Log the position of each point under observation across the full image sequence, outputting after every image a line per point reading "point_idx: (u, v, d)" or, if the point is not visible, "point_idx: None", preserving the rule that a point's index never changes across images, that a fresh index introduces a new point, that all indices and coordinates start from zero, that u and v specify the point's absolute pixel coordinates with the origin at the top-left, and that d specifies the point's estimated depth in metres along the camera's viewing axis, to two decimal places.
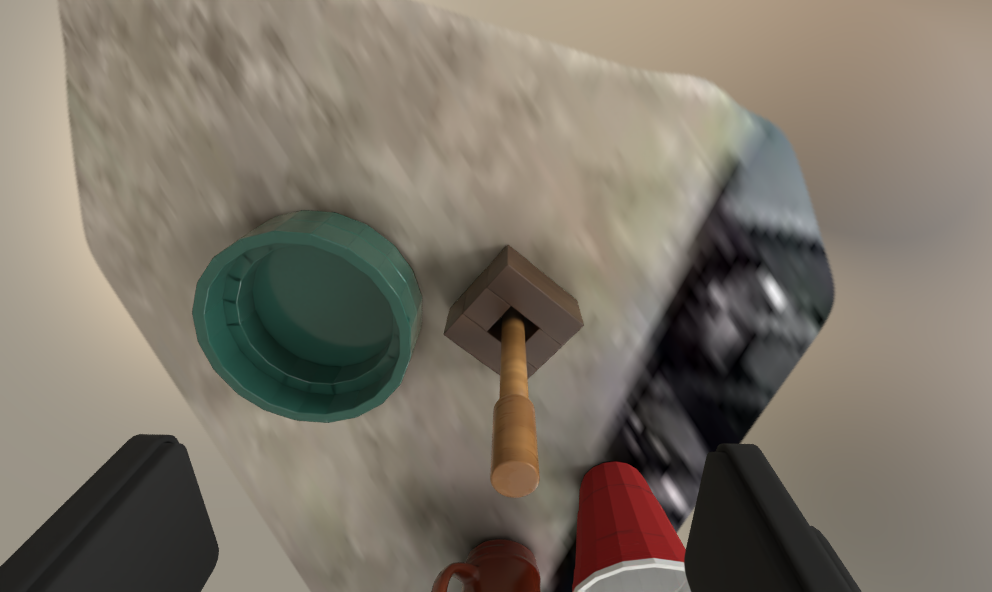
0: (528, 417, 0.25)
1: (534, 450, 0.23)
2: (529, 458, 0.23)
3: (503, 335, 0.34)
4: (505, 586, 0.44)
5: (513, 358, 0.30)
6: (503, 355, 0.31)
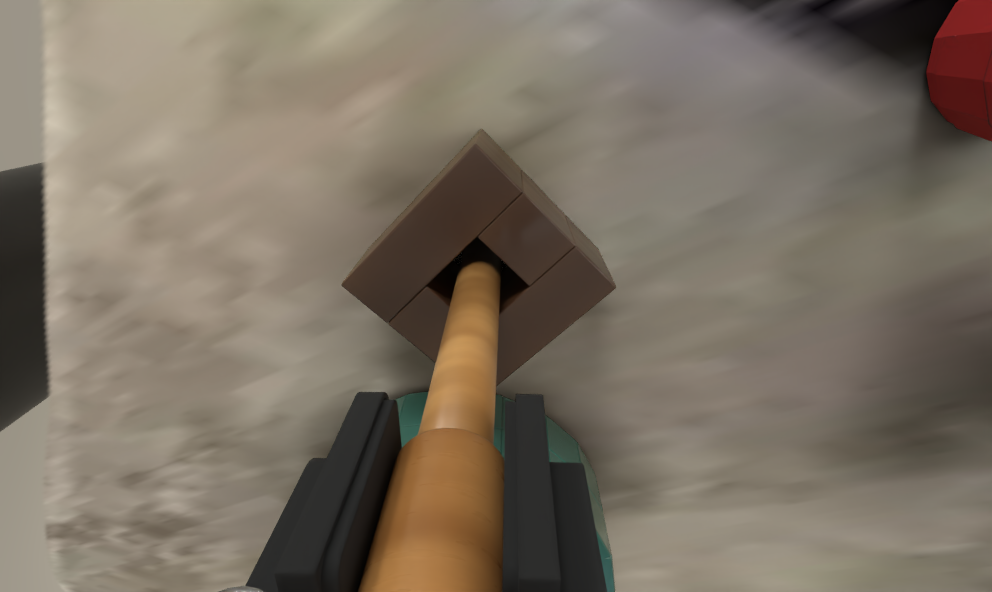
0: (392, 506, 0.08)
1: None
2: None
3: None
4: None
5: None
6: None
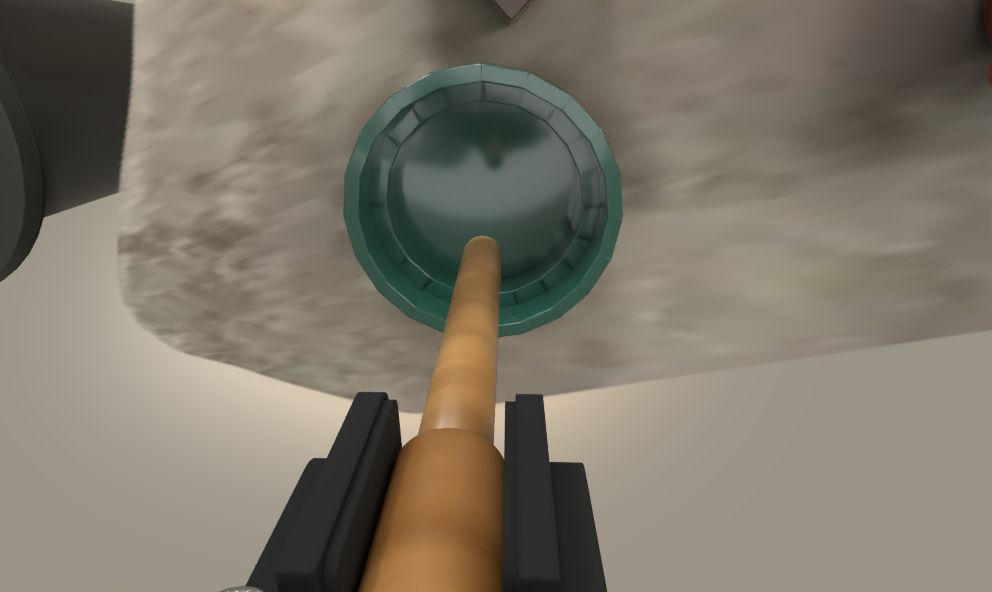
0: (392, 507, 0.08)
1: None
2: None
3: None
4: None
5: None
6: None
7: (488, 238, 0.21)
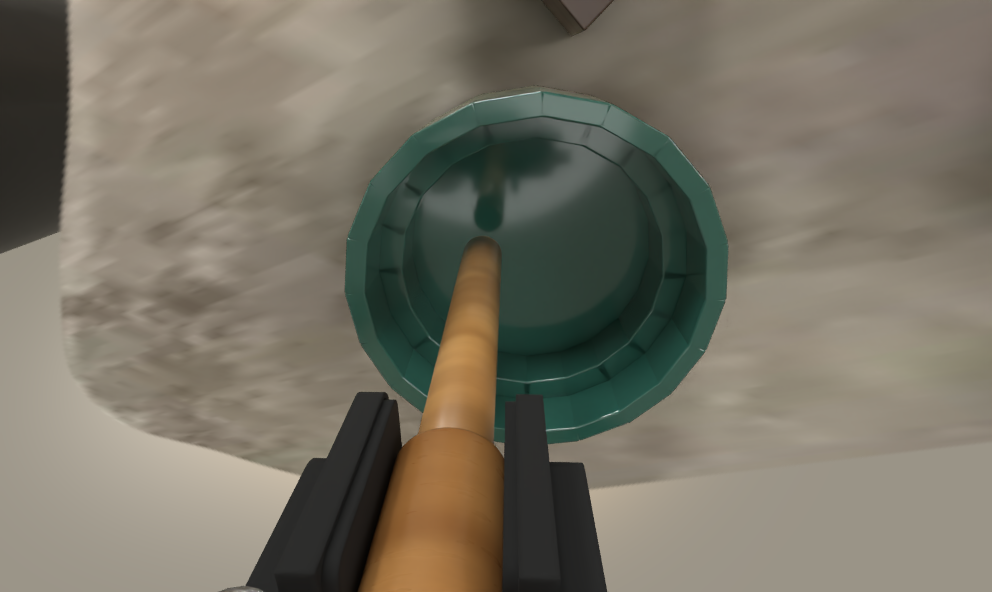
0: (392, 506, 0.08)
1: None
2: None
3: None
4: None
5: None
6: None
7: (488, 238, 0.21)
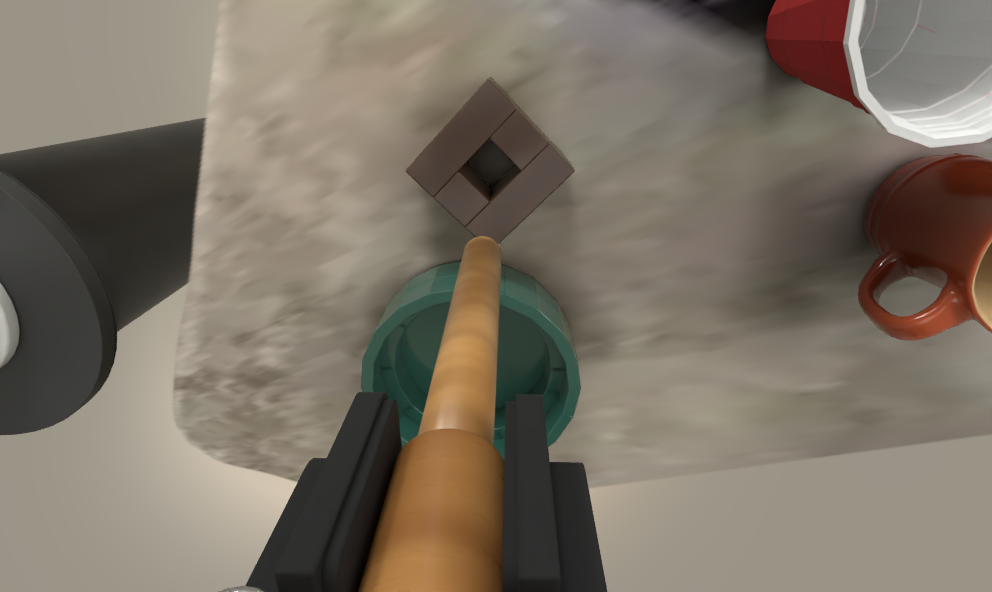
0: (392, 507, 0.08)
1: None
2: None
3: None
4: (925, 219, 0.28)
5: None
6: None
7: (488, 238, 0.21)
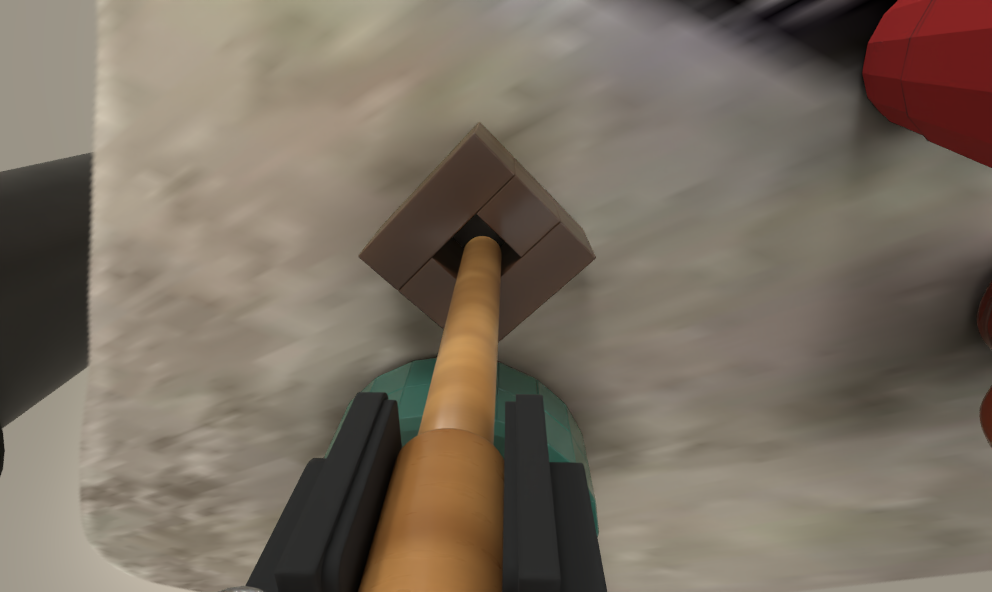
0: (392, 507, 0.08)
1: None
2: None
3: None
4: None
5: None
6: None
7: (488, 238, 0.21)
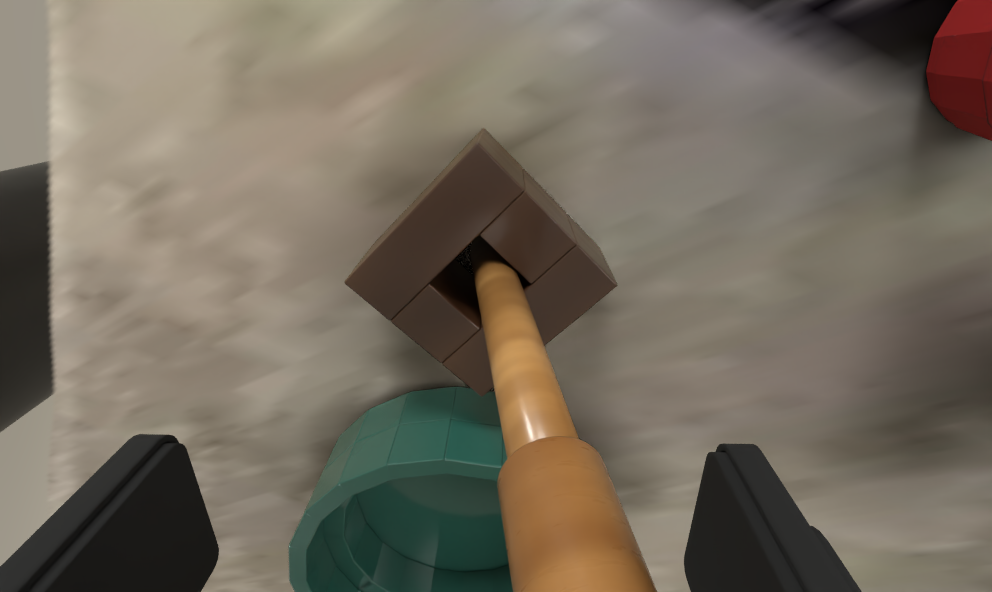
0: (529, 520, 0.08)
1: None
2: None
3: None
4: None
5: (490, 365, 0.14)
6: None
7: None
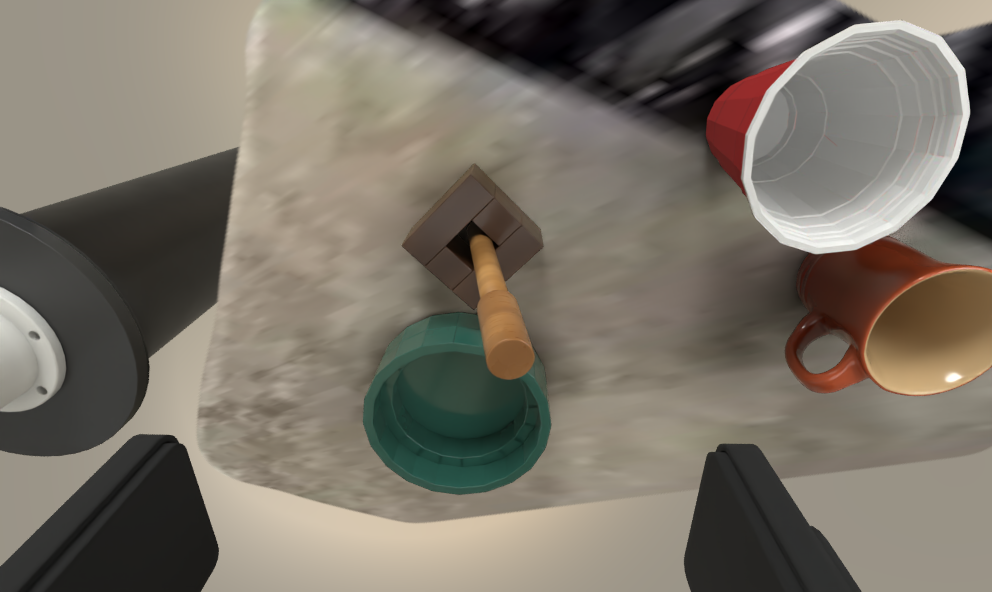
0: (486, 309, 0.25)
1: (495, 328, 0.23)
2: (491, 342, 0.23)
3: None
4: (836, 291, 0.34)
5: (476, 276, 0.30)
6: None
7: None
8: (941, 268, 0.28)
